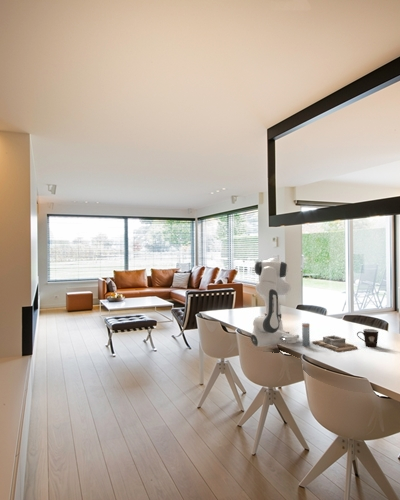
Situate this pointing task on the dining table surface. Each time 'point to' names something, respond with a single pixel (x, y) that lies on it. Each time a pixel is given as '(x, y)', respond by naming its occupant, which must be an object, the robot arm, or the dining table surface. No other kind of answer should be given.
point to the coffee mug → (370, 337)
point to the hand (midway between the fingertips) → (293, 334)
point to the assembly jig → (335, 343)
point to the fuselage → (305, 334)
